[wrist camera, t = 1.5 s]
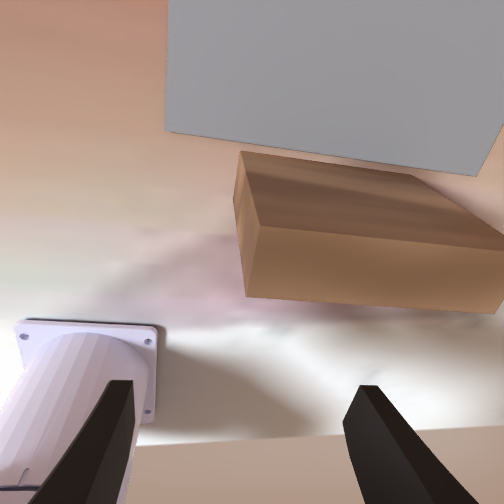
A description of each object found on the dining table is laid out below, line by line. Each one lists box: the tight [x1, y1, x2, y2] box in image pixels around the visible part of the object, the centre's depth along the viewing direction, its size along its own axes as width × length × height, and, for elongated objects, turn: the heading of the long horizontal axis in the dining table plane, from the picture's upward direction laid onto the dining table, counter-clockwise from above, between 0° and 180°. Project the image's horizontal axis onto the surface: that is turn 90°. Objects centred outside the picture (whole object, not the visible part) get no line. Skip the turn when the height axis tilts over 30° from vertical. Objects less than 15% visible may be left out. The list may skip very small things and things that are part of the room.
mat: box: [164, 0, 504, 176], centre depth 14 cm, size 10×16×1 cm, turn 81°
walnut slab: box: [233, 151, 504, 314], centre depth 14 cm, size 3×9×8 cm, turn 81°
